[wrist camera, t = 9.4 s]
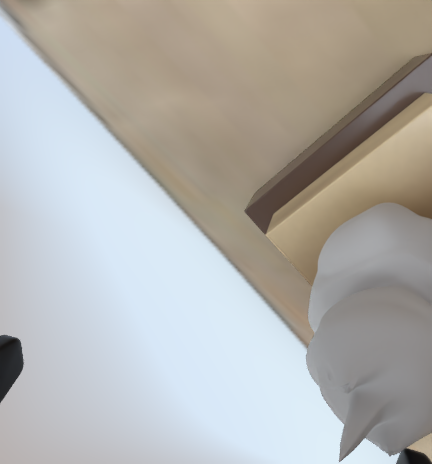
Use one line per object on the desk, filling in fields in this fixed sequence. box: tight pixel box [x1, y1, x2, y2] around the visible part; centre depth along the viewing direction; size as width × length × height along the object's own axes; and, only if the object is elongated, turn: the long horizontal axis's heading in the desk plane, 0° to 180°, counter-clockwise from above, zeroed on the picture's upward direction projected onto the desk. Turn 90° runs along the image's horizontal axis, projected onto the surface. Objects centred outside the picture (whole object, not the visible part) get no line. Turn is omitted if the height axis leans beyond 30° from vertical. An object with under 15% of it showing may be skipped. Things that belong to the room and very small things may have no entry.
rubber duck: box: [306, 202, 432, 462], centre depth 10 cm, size 5×7×8 cm
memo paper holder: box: [245, 54, 432, 286], centre depth 16 cm, size 9×9×6 cm
